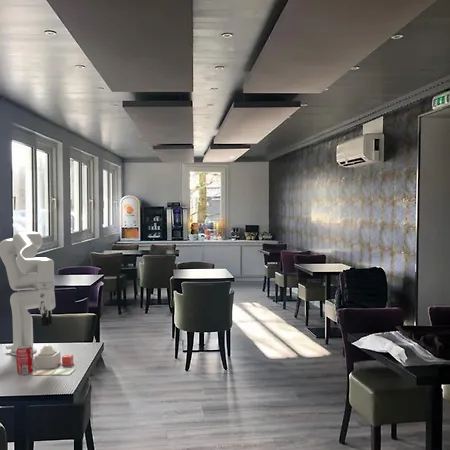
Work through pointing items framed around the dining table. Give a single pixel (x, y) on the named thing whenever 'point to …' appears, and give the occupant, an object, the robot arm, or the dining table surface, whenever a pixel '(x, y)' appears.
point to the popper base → (47, 360)
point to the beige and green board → (53, 372)
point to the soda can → (24, 359)
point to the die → (67, 360)
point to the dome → (47, 351)
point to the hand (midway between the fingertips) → (46, 324)
